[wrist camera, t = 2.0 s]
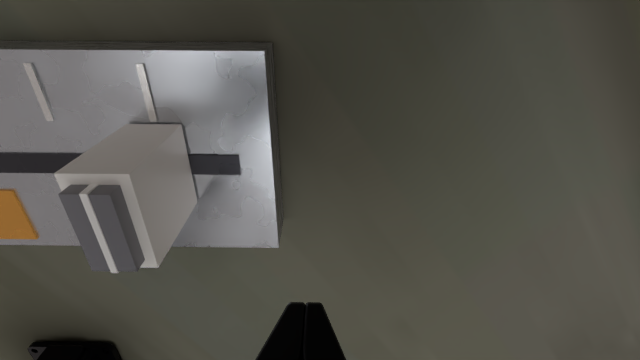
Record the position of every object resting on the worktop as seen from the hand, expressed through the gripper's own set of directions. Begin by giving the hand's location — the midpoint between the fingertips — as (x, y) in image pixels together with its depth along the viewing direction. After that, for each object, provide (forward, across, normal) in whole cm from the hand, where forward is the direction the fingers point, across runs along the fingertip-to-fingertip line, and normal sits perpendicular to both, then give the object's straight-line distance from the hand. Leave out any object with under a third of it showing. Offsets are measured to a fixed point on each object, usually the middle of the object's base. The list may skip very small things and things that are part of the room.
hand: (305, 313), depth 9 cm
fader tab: (+8, +7, 0) cm, 11 cm away
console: (+11, +11, 0) cm, 15 cm away
